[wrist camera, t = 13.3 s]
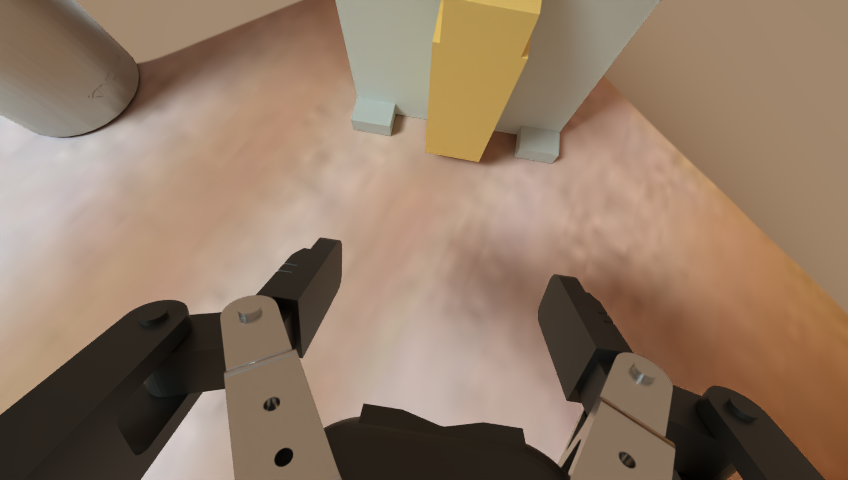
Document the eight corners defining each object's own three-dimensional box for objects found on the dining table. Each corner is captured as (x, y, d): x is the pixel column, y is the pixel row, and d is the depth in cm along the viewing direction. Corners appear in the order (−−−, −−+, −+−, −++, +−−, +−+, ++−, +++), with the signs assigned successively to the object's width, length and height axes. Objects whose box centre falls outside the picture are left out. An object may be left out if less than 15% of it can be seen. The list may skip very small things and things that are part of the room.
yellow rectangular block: (424, 152, 23) (435, -5, 11) (443, 57, 24) (470, -172, 12) (478, 162, 23) (548, 16, 11) (493, 67, 24) (570, -154, 12)
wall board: (353, 129, 25) (304, -46, 13) (372, 60, 27) (343, -145, 15) (551, 163, 25) (677, 17, 13) (555, 92, 27) (667, -90, 15)
